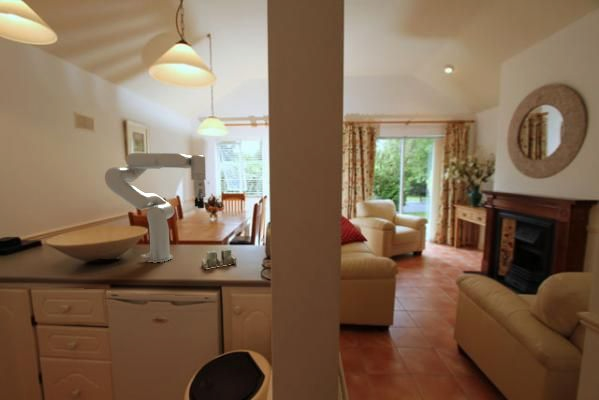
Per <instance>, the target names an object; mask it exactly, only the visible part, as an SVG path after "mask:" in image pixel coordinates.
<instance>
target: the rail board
mask: <svg viewBox="0 0 599 400" xmlns="http://www.w3.org/2000/svg"><path fill="white" fill-rule="evenodd" d="M220 253H221V255H220V256H221V257H220V256H217V261H216V265H214V266H208V263H207V259H205V258H202V259H201V266H202V265H203V266H202V268H203V267H204V268H205V269H206V268H211V267H217V266H223V265H229V264H236V263H237V262H238V261H237V257H235V256H234V254H232V249H231V248H229V247H227V248H221V252H220ZM204 268H203V269H204Z"/></svg>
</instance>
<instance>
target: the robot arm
mask: <svg viewBox="0 0 599 400" xmlns="http://www.w3.org/2000/svg"><path fill="white" fill-rule="evenodd" d="M125 163H126V165H127V166H126V167H123V166H116V167H115V166H114V167H110V168H108V169H107V170H106V171H105V174H104V181H105V184H106V186H107V187H108V189H109V190H111V192H113V194H115V195H117V196H119V197H121V198H122V199H123V200H125V201H126V202H127V203H129V204H130V205H132V206H133V207H134V208H136V209H137V210H139V211H144V210H147V212H146V219H147V223H148V231H149V247H150V251H149V253H146V254H141V255H140V258H141V259H143V260H144V259H147V262H148V263H150V262H153V263H152V264H157V262H160V263H164V261H165V262H168V260H169V261H171V260H172V259H173V258H174V256H173V255H172V254H171V253H170V229H169V223H168V219H170V218H172V217H173V216H174V214H175V208H174V207H173V205H172V204H170V202H168V201H166V200H165V199H164V198H162V197H161V196H159V195H157V194H156V193H155V192H150V191H149V192H143V191H141V190H140V189H138V188H137V187H136V186H134V185H132V184H130V183H132V182H134V181H136V180H137V179H138V178H139V177H141V175H142V174H143V175H144V173H145V172H146V171H147V170H148V169H154V170H156V169H157V170H158V169H159V170H160V169H163V168H176V169H177V168H178V169H179V168H180V169H190V176H191V177H190V180H191V181H193V196H194V207H197V208H198V209H204V208H205V199H204V198H205V197H206V184H205V181H206V180H207V179H206V178H207V177H206V174H207V173H206V157H205V156H204V155H200V154H192V155H186V154H183V153H173V152H170V153H169V152H168V153H167V152H166V153H165V152H164V153H163V152H162V153H161V152H157V153H156V152H154V153H153V152H147V153H146V152H133V153H129V154H128V155H126V157H125ZM170 259H171V260H170Z"/></svg>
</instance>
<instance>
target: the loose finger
mask: <svg viewBox="0 0 599 400" xmlns="http://www.w3.org/2000/svg"><path fill="white" fill-rule="evenodd" d="M217 257H218V252H216V250H207V251H206V261H207V263H208V266H214V265H216V261H217Z"/></svg>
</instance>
